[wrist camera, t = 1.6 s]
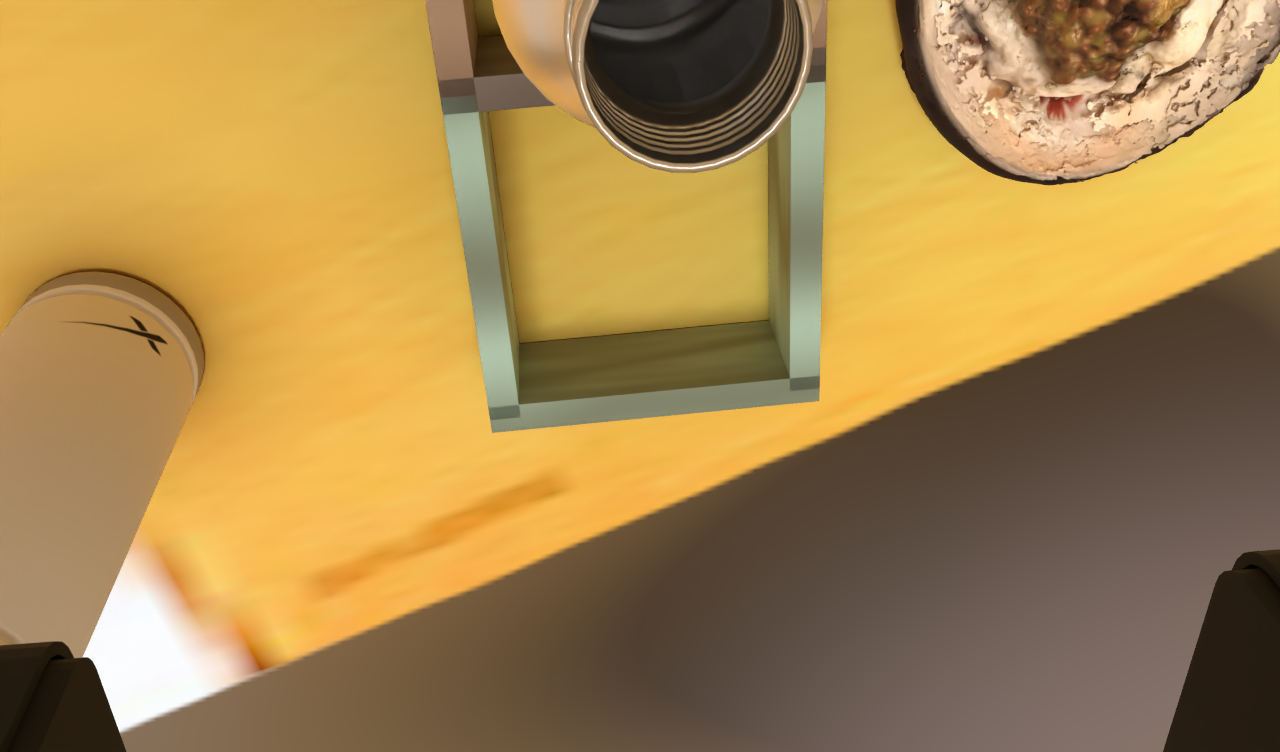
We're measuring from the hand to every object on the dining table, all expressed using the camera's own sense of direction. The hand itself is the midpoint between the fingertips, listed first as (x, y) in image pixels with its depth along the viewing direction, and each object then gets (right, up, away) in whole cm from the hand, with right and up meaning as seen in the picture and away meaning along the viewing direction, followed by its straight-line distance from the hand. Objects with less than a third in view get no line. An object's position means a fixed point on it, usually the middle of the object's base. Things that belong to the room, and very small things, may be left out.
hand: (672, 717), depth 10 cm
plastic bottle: (-1, +18, +25) cm, 31 cm away
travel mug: (-19, +4, +32) cm, 37 cm away
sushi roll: (+14, +16, +28) cm, 35 cm away
